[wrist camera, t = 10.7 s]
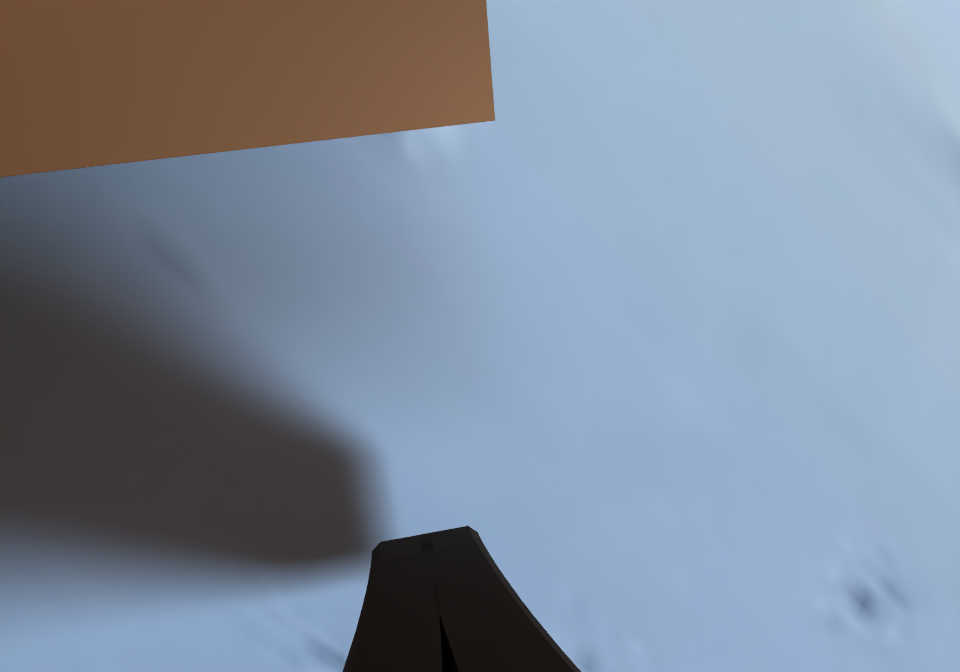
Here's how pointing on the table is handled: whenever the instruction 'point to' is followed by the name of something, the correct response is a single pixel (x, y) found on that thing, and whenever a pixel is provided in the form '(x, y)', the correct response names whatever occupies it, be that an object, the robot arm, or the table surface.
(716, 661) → the table surface
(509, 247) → the table surface
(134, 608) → the table surface
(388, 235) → the table surface
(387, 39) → the dock
